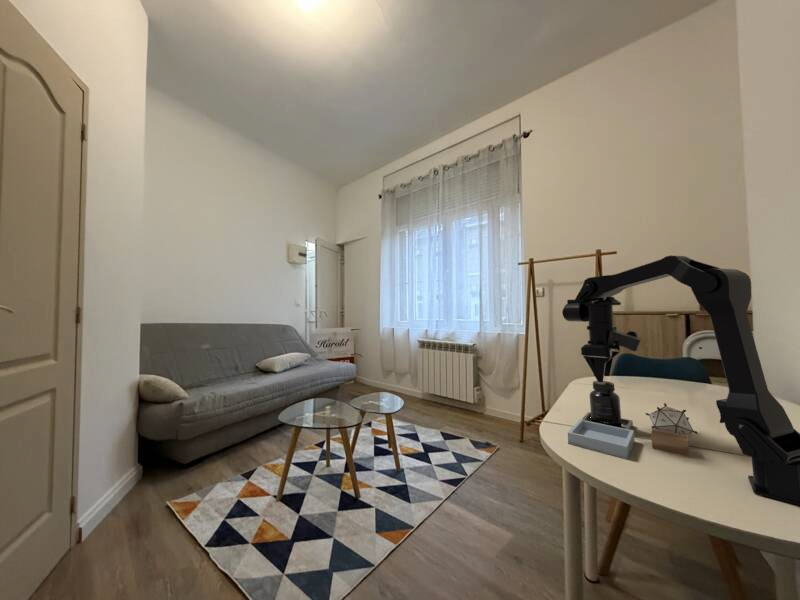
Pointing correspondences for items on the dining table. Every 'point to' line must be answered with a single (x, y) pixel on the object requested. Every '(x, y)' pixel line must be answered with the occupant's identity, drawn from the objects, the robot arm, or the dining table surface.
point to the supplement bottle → (605, 404)
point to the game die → (671, 420)
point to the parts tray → (602, 438)
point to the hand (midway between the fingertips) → (604, 378)
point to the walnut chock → (670, 442)
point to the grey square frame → (623, 421)
